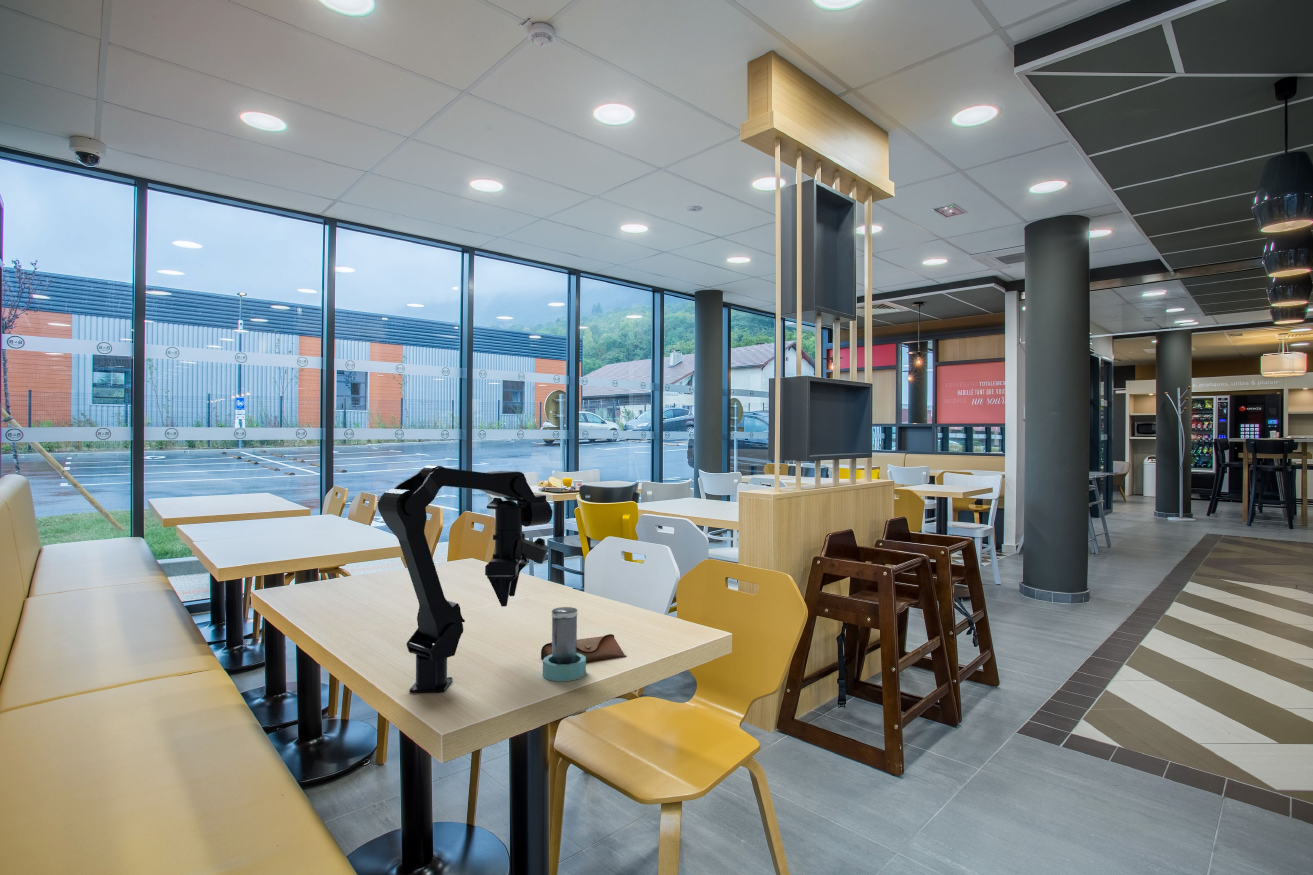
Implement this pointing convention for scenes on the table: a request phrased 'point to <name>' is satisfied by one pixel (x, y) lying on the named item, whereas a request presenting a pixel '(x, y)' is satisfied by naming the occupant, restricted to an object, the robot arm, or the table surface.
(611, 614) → the table surface
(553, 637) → the cylinder
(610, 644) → the sunglasses case
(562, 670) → the ring
